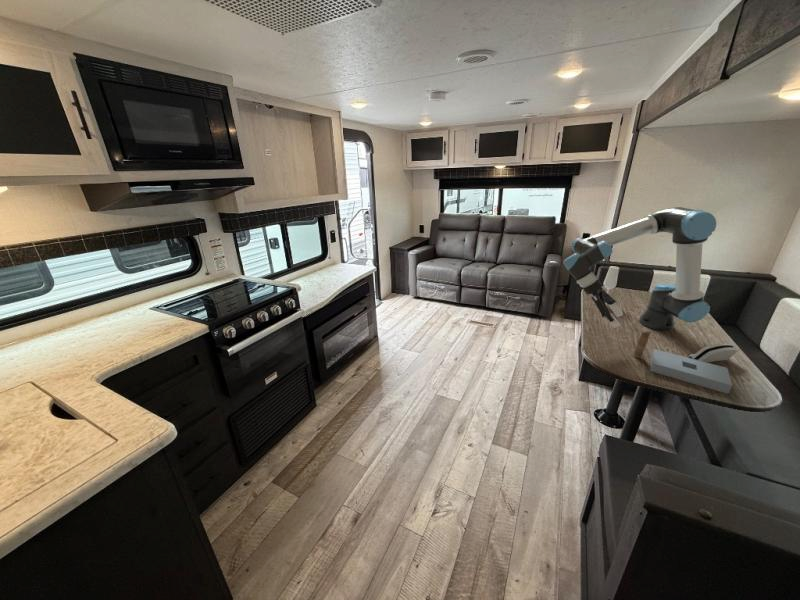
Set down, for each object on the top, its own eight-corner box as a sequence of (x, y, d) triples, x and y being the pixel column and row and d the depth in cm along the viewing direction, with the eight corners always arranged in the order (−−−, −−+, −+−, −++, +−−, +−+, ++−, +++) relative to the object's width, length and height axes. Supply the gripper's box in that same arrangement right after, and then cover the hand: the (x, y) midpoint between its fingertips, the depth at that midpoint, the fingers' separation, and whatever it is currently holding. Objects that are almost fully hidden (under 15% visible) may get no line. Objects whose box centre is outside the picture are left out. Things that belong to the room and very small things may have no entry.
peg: (633, 354, 145) (642, 329, 140) (641, 356, 143) (650, 331, 138) (633, 356, 143) (641, 332, 138) (641, 359, 141) (650, 334, 136)
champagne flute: (606, 306, 193) (617, 269, 183) (595, 302, 198) (605, 266, 189) (612, 304, 196) (623, 268, 186) (602, 300, 201) (611, 265, 192)
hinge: (717, 353, 145) (733, 339, 138) (726, 361, 142) (744, 347, 135) (686, 357, 142) (702, 343, 136) (695, 365, 139) (711, 351, 132)
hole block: (650, 371, 133) (653, 363, 131) (651, 356, 143) (653, 348, 141) (728, 393, 119) (732, 385, 118) (723, 375, 130) (727, 367, 128)
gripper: (586, 280, 157) (613, 315, 155) (576, 295, 139) (607, 335, 136) (601, 272, 152) (629, 308, 149) (593, 287, 134) (625, 328, 131)
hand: (619, 321), depth 143 cm, fingers open, 13 cm apart
